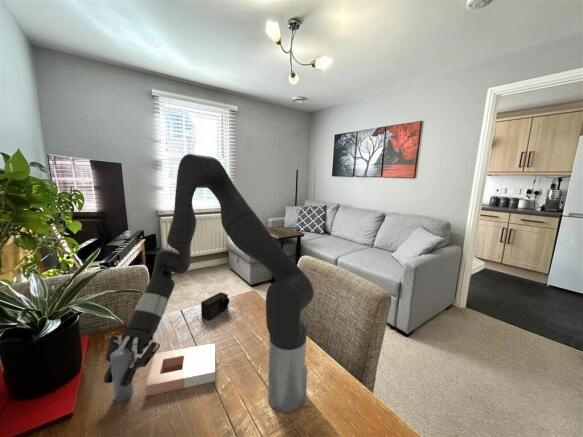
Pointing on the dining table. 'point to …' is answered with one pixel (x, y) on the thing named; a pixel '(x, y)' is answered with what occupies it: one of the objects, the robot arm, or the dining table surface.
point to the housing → (194, 370)
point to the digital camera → (214, 306)
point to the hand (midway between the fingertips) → (115, 384)
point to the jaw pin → (120, 374)
